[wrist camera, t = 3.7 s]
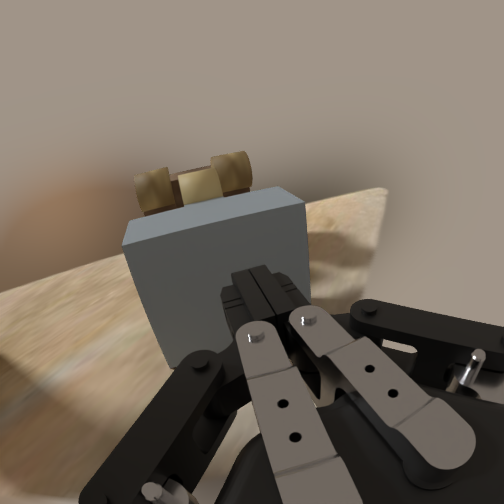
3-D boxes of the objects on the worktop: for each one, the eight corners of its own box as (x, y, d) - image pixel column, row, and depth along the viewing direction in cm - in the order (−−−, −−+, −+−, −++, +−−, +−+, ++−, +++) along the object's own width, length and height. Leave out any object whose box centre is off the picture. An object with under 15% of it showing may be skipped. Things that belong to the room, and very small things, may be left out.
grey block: (170, 368, 18) (112, 214, 14) (164, 303, 25) (129, 184, 21) (311, 327, 20) (302, 171, 16) (273, 275, 27) (257, 155, 23)
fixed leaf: (163, 288, 28) (132, 178, 23) (162, 254, 35) (140, 166, 30) (264, 262, 30) (249, 152, 25) (243, 234, 37) (229, 146, 32)
